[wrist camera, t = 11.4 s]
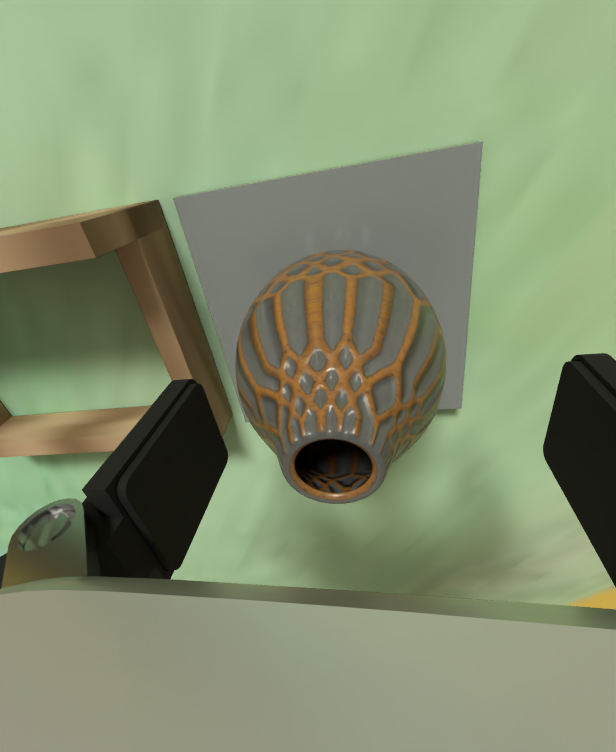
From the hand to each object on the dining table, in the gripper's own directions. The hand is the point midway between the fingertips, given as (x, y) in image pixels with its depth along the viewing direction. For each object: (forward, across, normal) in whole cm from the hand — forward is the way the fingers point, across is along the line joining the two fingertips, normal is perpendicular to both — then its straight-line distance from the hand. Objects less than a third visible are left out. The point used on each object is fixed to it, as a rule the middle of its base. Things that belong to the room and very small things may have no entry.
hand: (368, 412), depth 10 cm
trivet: (+7, +2, 0) cm, 8 cm away
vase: (+7, +1, 0) cm, 7 cm away
